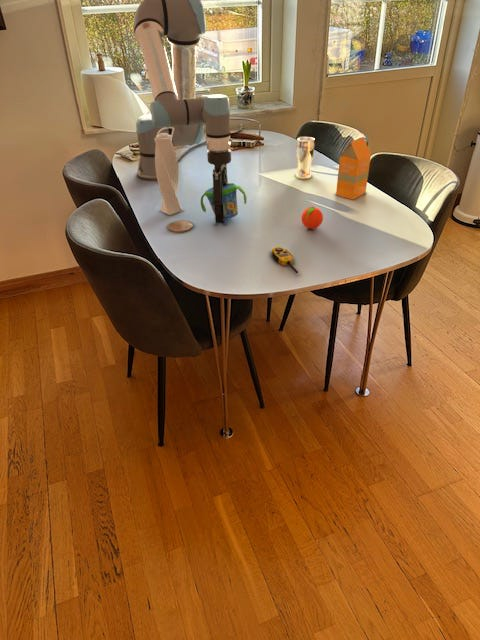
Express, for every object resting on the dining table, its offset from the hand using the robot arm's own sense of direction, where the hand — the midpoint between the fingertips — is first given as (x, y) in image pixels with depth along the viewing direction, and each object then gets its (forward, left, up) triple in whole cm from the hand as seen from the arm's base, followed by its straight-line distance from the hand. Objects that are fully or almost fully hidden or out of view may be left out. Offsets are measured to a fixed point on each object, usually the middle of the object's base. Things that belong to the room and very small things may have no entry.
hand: (221, 216), depth 162 cm
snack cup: (+1, +2, 0) cm, 2 cm away
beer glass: (-45, +27, -1) cm, 53 cm away
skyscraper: (-5, -19, -1) cm, 20 cm away
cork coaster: (+8, -13, -1) cm, 15 cm away
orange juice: (-27, +45, -1) cm, 53 cm away
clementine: (+5, +30, -1) cm, 31 cm away
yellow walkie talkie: (+29, +23, -1) cm, 37 cm away
